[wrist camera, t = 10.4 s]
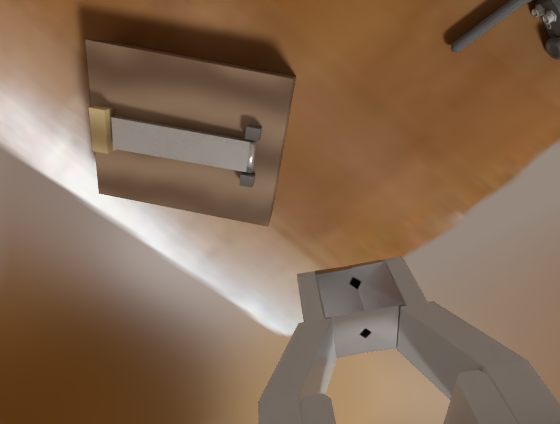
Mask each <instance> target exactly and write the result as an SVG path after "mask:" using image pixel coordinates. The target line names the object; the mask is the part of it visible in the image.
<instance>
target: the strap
mask: <svg viewBox="0 0 560 424" xmlns="http://www.w3.org/2000/svg"><path fill="white" fill-rule="evenodd" d="M111 122H112V137H113V149H117V150H123V151H129V152H134V153H140V154H146V155H151V156H157V157H163V158H168V159H174V160H180V161H185V162H191V163H196V164H202V165H208V166H213V167H219V168H225V169H230V170H236V171H242V172H247V173H252V172H253V167H254V159H255V152H256V145H257V142H256V141H253V140H247V139H241V138H236V137H230V136H225V135H219V134H214V133H208V132H202V131H197V130H191V129H186V128H180V127H175V126H169V125H163V124H158V123H152V122H147V121H141V120H136V119H130V118H124V117H119V116H114V117H111Z"/></svg>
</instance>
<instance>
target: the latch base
mask: <svg viewBox="0 0 560 424" xmlns="http://www.w3.org/2000/svg"><path fill="white" fill-rule="evenodd" d="M85 45H86V56H87V67H88V78H89V89H90V100H91V107H88V108H89V119H90V129H91V140H92V151H95V155H96V166H97V178H98V189H99V194H104V195H110V196H115V197H120V198H125V199H130V200H135V201H140V202H145V203H150V204H156V205H161V206H166V207H171V208H176V209H181V210H186V211H191V212H196V213H202V214H207V215H212V216H217V217H222V218H227V219H232V220H237V221H243V222H248V223H253V224H258V225H263V226H268V225H269V222H270V218H271V214H272V210H273V204H274V199H275V193H276V187H277V182H278V176H279V170H280V165H281V159H282V153H283V148H284V142H285V136H286V131H287V125H288V119H289V114H290V108H291V102H292V97H293V91H294V85H295V79H296V76H292V75H286V74H281V73H276V72H271V71H265V70H260V69H255V68H249V67H244V66H239V65H234V64H228V63H223V62H218V61H212V60H207V59H202V58H197V57H191V56H186V55H181V54H175V53H170V52H165V51H160V50H154V49H149V48H144V47H138V46H133V45H128V44H123V43H117V42H112V41H101V40H85ZM114 116H119V117H124V118H130V119H136V120H141V121H147V122H152V123H158V124H163V125H169V126H175V127H180V128H186V129H191V130H197V131H202V132H208V133H214V134H219V135H225V136H230V137H236V138H241V139H247V140H253V141H256V142H257V145H256V152H255V159H254V167H253V172H252V173H247V172H242V171H236V170H230V169H225V168H219V167H213V166H208V165H202V164H196V163H191V162H185V161H180V160H174V159H168V158H163V157H157V156H151V155H146V154H140V153H134V152H129V151H123V150H117V149H113V137H112V122H111V117H114Z"/></svg>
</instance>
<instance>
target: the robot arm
mask: <svg viewBox="0 0 560 424" xmlns="http://www.w3.org/2000/svg"><path fill="white" fill-rule="evenodd" d="M297 280H298V287H299V293H300V300H301V306H302V313H303V319H304V322H303V323H299V324H298V326H297V328H296V329H295V331H294V333H293V335H292V337H291V339H290V341H289V343H288V345H287V347H286V349H285V351H284V353H283V355H282V357H281V359H280V361H279V362H278V364H277V366H276V368H275V370H274V372H273V374H272V377H271V378H270V380H269V382H268V384H267V386H266V388H265V390H264V392H263V394H262V395H261V397H260V400H259V401H258V415H259V418H258V419H259V424H336V422H335V417H334V412H333V407H332V402H331V398H329V397H328V396H326V395H325V393H326V390H327V387H328V384H329V381H330V378H331V375H332V372H333V369H334V365H335V363H336V358H339V357H345V356H350V355H355V354H361V353H366V352H374V351H382V350H389V349H397V350H398V351H399V352H400V353H401V354H402V355H403V356H404V357H405V358H406V359H407V360H408V361H409V362H410V363H411V364H412V365H413V366H415V367H416V368H417V369H418V370H419V371H420V372H421V373H422V374H423V375H424V376H425V377H426V378H427V379H428V380H429V381H430V382H432V383H433V384H434V385H435V386H436V387H437V388H438V389H439V390H440V391H441V392H442V393H443V394H444V395H445V396H446V397H447V398H449V399H450V400H451V401H450V404H449V407H448V411H447V414H446V417H445V420H444V423H443V424H560V404H559V403H558V401H557V400H556V398H555V397H554V396H553V394H552V393H551V392H550V390H549V389H548V388H547V386H546V385H545V383H544V382H543V381H542V379H541V378H540V376H539V375H538V374H537V372H536V371H535V370H534V368H533V367H532V366H531V364H530V363H529V361H528V360H526V359H525V358H523V357H522V356H520V355H518V354H517V353H515V352H514V351H512V350H510V349H509V348H507V347H506V346H504V345H502V344H501V343H499V342H497V341H496V340H494V339H493V338H491V337H490V336H488V335H486V334H485V333H483V332H482V331H480V330H478V329H477V328H475V327H474V326H472V325H470V324H469V323H467V322H466V321H464V320H462V319H461V318H459V317H458V316H456V315H454V314H453V313H451V312H450V311H448V310H446V309H445V308H443V307H442V306H440V305H439V304H437V303H435V302H434V301H432V302H427V300H426V298H425V297H424V295H423V293H422V291H421V289H420V287H419V286H418V284H417V282H416V280H415V278H414V276H413V275H412V273H411V271H410V269H409V268H408V266H407V264H406V262H405V260H404V259H403V258H402V257H395V258H389V259H384V260H377V261H372V262H366V263H361V264H355V265H350V266H346V267H339V268H332V269H325V270H318V271H315V272H314V271H313V272H307V273H300V274H297Z"/></svg>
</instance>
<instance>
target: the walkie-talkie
mask: <svg viewBox="0 0 560 424" xmlns="http://www.w3.org/2000/svg"><path fill="white" fill-rule="evenodd" d="M531 1H532V0H510V1H508V2H507V3H506V4H504V5H503V6H502V7H500V8H499V9H498V10H496V11H495V12H494V13H492V14H491V15H490V16H488V17H487V18H486V19H484V20H483V21H482V22H480V23H479V24H478V25H476V26H475V27H474V28H472V29H471V30H470V31H468V32H467V33H466V34H464V35H463V36H462V37H460V38H459V39H458V40H456V41H455V42H454V43H453V44H452V46H451V50H452V51H453V52H456V53H457V52H459V51H461V50H462V49H464V48H465V47H466V46H468V45H469V44H470V43H472V42H473V41H474V40H476V39H477V38H479V37H480V36H481V35H483V34H484V33H485V32H487V31H488V30H489V29H491V28H492V27H494V26H495V25H496V24H498V23H499V22H500V21H502V20H503V19H504V18H506V17H507V16H509V15H510V14H511V13H513V12H514V11H515V10H517V9H518V8H519V7H521V6H522V5H524V4H525V3H529V2H531ZM535 5H536V6H535V8H534V9H533V10H532V11H531V13H532V15H533V16H534V17H535V18H536V17H539V16H540V17H541V19H542V21H543V23H544V25H545V28H546V30H547V32H548V34H549V37H550V39H549V40H547V42H546V46H545V47H546V51H547V53H548V54H549V55H550V56H551V57H552V58H554V59H560V0H537V2H536V4H535Z"/></svg>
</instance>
